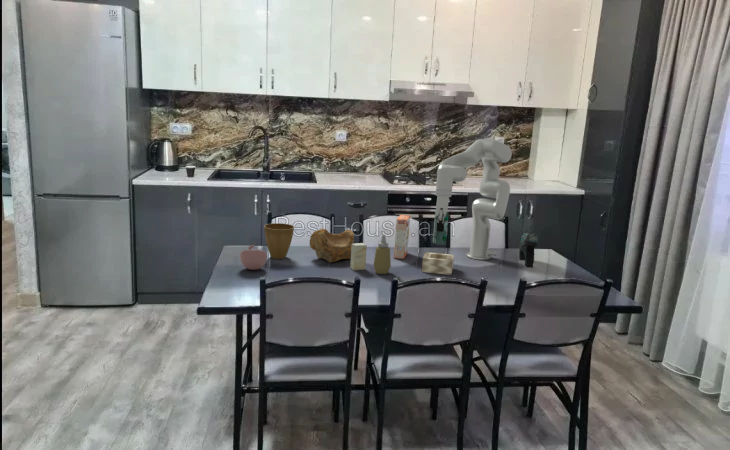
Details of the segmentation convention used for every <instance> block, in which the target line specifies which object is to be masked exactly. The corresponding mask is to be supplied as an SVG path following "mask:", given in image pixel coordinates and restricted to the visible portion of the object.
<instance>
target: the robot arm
mask: <svg viewBox="0 0 730 450" xmlns="http://www.w3.org/2000/svg"><path fill="white" fill-rule="evenodd" d="M512 153H513V152H512V149H511V147H510V146H509V145H507V144H505V143H503V142H501V141H499V140H496V139H486V138H479V139H477V140H475V141H474V142H473V143H472V144H470V146H469V147H468V148H467V149H466V150H464V151H463V152H460V153H457V154H454V155H452V156H450V157H448V158H446V159H444V161H443V162H441V164H440V165H439V166H438V168H437V171H436V184H435V185H436V187H435V196H437V197H436V198H437V199H436V206H435V212H436V214H435V213H434V217H435V216H436V217H437V216H438V223H437V231H441V232H443V230H444V217H446V213H447V212H448V210H449V209H448V207H449V200H450V199H449V198H451V197H452V196H453V195H452V194H453V182H454V183H461V182H464V181H465V179H466V178H467V175H468V173H467V170H466V168H470V167H474V166H476V165H477V164H478V163H479V162H480V161H481V162H482V165H483V173H482V176H481V180H480V181H481V182H480V185H479V190H478V191H479V194H480V195H481V196H483V197H487V198H483V197H482V198H476V199H475V200H474V201H473V202H472V204H471V211H472V212H471V213H472V222H471V223H472V224H471V225H472V226H471V235H470V245H469V246H470V247H469V248H470V249H469V252H467V253H466V257H467V258H470V259H473V260H480V261H481V260H482V261H483V260H484V261H485V260H490V259H491V256H495V257H496V256H497V254H498V253H497V251H494V250H492V251H491V250H490V248H489V246H490V244H489V243H490V235H491V222H490V219H493V220H501V219H503V218H504V216H505V214H506V210H507V206H508V202H509V198H510V194H511V186H510V184H509V182H508V181H506V180H500V173H501V169H500V166H499V164H498V163H508V162H509V161H510V160H511V158H512ZM488 198H492V199H488ZM494 199H495V200H494ZM443 214H444V215H443ZM442 215H443V217H442ZM442 220H443V221H442Z"/></svg>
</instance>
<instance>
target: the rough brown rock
mask: <svg viewBox="0 0 730 450" xmlns="http://www.w3.org/2000/svg"><path fill="white" fill-rule="evenodd" d="M354 239H355V232H353V231H352V230H348V229H347V230H344V231H342V232H341V233H331V232H329V231H328V230H327V229H326V228H320V229H318V230H315V231H313V233H312V234H311V235H310V238H309V247H310V249H312V250H313V251H314V252H315V255H316V257H317V258H318V259H323V260H326V262H328V263H329V264H332V263H335V262H338V261H340V260H351V245H352V244H355V243H354V242H355V240H354Z"/></svg>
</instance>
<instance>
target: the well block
mask: <svg viewBox="0 0 730 450" xmlns="http://www.w3.org/2000/svg"><path fill="white" fill-rule="evenodd" d="M454 257H455V254H448V253H439V252H427V251H425V253H424V254H423V257H422V264H421V272H422V273H429V274H430V273H431V274H439V275H440V274H441V275H447V276H452V273H453V269H454V259H455V258H454Z"/></svg>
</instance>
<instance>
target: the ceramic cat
mask: <svg viewBox="0 0 730 450" xmlns="http://www.w3.org/2000/svg"><path fill="white" fill-rule="evenodd" d="M529 229H530V231H532V230H533V227H532V226H530V227H529ZM530 231H529V230H526V231H525V233H522V235H521V237H520V241H519V246H518V247H519V249H518V259H519V260H520V261H524V266H525V267H526V268H534V263H535V248H537V247H538V246H539V244H538V242H539V238H538V235H537V233H536V232H533V233H532V232H530Z"/></svg>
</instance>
